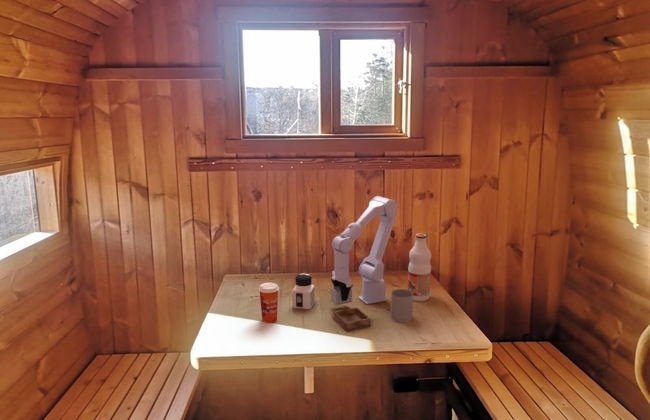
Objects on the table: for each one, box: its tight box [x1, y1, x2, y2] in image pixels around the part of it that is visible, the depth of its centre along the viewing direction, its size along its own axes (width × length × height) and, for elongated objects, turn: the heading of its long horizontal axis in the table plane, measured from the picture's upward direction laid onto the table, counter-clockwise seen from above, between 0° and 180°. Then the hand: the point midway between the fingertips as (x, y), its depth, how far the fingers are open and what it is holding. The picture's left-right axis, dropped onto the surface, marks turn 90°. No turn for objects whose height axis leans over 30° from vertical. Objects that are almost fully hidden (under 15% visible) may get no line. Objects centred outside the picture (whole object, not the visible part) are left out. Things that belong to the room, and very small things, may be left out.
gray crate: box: [330, 286, 353, 306], centre depth 202 cm, size 7×5×6 cm
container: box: [291, 273, 316, 310], centre depth 205 cm, size 8×8×13 cm
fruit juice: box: [407, 232, 432, 302], centre depth 210 cm, size 9×9×28 cm
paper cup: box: [258, 282, 280, 324], centre depth 191 cm, size 8×8×14 cm
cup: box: [390, 288, 414, 323], centre depth 193 cm, size 8×8×10 cm
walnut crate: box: [332, 307, 371, 332], centre depth 190 cm, size 10×11×3 cm
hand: (341, 297), depth 202 cm, fingers closed on gray crate, 5 cm apart
